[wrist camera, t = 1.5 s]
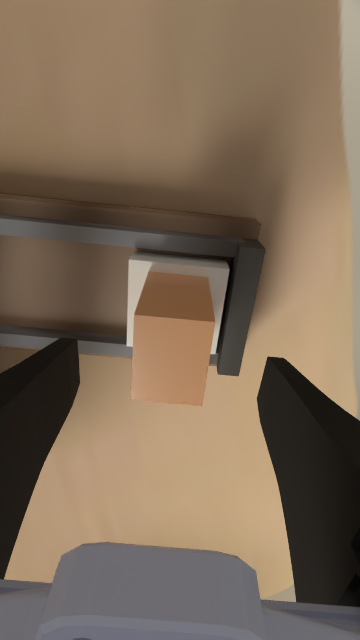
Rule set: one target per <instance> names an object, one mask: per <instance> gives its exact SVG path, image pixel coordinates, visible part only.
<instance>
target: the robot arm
mask: <svg viewBox="0 0 360 640" xmlns="http://www.w3.org/2000/svg"><path fill="white" fill-rule="evenodd" d="M79 384H80V375H79V356H78V339H73V338H62V337H61V338H59V339H58V340H56V341H54V342H53V343H51V344H49V345H48V346H46V347H45V348H43V349H42V350H40V351H38V352H37V353H35V354H34V355H32V356H30V357H29V358H27V359H25V360H24V361H22V362H20V363H19V364H17V365H15V366H13V367H11V368H10V369H8V370H6V371H4V372H3V373H1V374H0V640H360V421H359V420H358V419H356V418H355V417H353V416H352V415H350V414H349V413H348V412H346V411H345V410H344V409H342V408H341V407H340V406H339V405H337V404H336V403H335V402H333V401H332V400H331V399H330V398H328V397H327V396H326V395H325V394H324V393H322V392H321V391H320V390H319V389H318V388H317V387H316V386H314V385H313V384H312V383H311V382H310V381H309V380H308V379H307V378H306V377H304V376H303V375H302V374H301V373H300V372H299V371H298V370H297V369H296V368H295V367H294V366H292V365H291V364H290V363H289V362H288V361H287V360H285V359H284V358H278V357H267V361H266V365H265V369H264V373H263V377H262V381H261V385H260V389H259V393H258V397H257V403H258V411H259V417H260V423H261V426H262V430H263V434H264V437H265V440H266V444H267V447H268V451H269V454H270V457H271V461H272V464H273V468H274V471H275V474H276V478H277V482H278V486H279V491H280V496H281V502H282V507H283V512H284V518H285V524H286V531H287V537H288V543H289V550H290V557H291V564H292V571H293V578H294V586H295V595H296V602H285V601H271V600H260V594H259V588H258V582H257V575H256V571H255V570H254V569H253V568H251V567H250V566H249V565H248V564H246V563H245V562H244V561H243V560H241V559H240V558H239V557H237V556H234V555H230V554H226V553H222V552H218V551H209V550H197V549H185V548H172V547H160V546H148V545H135V544H123V543H110V542H101V543H88V544H82V545H80V546H78V547H76V548H75V549H73V550H71V551H69V552H67V553H65V554H64V555H62V556H61V559H60V562H59V564H58V567H57V570H56V573H55V576H54V579H53V582H52V583H42V582H29V581H16V580H4V577H5V573H6V570H7V567H8V564H9V560H10V557H11V554H12V551H13V548H14V545H15V542H16V539H17V536H18V533H19V530H20V527H21V524H22V521H23V518H24V515H25V513H26V510H27V507H28V504H29V501H30V498H31V496H32V493H33V490H34V488H35V485H36V482H37V480H38V477H39V474H40V472H41V469H42V467H43V464H44V462H45V460H46V458H47V456H48V454H49V452H50V450H51V448H52V446H53V444H54V442H55V440H56V438H57V436H58V434H59V432H60V430H61V428H62V426H63V424H64V422H65V420H66V418H67V416H68V414H69V412H70V409H71V407H72V405H73V402H74V399H75V397H76V394H77V390H78V387H79Z"/></svg>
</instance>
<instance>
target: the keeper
mask: <svg viewBox="0 0 360 640" xmlns="http://www.w3.org/2000/svg"><path fill="white" fill-rule="evenodd" d="M229 270H230V269H229V266H228V264H227V261H226V260H216V259H206V258H195V257H185V256H175V255H165V254H154V253H144V252H134V251H133V253H132V255H131V256H130V258H129V269H128V309H127V346H129V347H133V358H132V386H131V400H135V401H147V402H158V403H170V404H181V405H193V406H202V404H203V398H204V391H205V385H206V379H207V372H208V366H209V360H210V354H216V348H217V342H218V336H219V330H220V324H221V318H222V312H223V306H224V300H225V294H226V288H227V282H228V276H229Z"/></svg>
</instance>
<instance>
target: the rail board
mask: <svg viewBox="0 0 360 640" xmlns="http://www.w3.org/2000/svg"><path fill="white" fill-rule="evenodd" d="M260 225H261V224H260V223H259V222H258V221H257V220H256V219H250V218H240V217H230V216H220V215H210V214H200V213H190V212H180V211H170V210H161V209H151V208H141V207H131V206H121V205H111V204H101V203H91V202H81V201H71V200H61V199H51V198H41V197H31V196H21V195H11V194H1V193H0V347H10V348H21V349H32V350H42V349H43V348H45V347H46V346H48V345H49V344H51V343H53V342H54V341H56V340H58V339H59V338H61V337H62V338H73V339H78V354H87V355H98V356H109V357H120V358H131V359H132V358H133V347H129V346H127V309H128V269H129V258H130V256H131V255H132V253H133V251H134V252H144V253H154V254H165V255H175V256H185V257H195V258H206V259H216V260H226V261H227V264H228V266H229V269H230V270H229V276H228V282H227V288H226V294H225V300H224V306H223V312H222V318H221V324H220V330H219V336H218V342H217V348H216V354H210V360H209V366H217V372H218V374H220V375H231V376H239V372H240V367H241V363H242V358H243V353H244V348H245V344H246V339H247V334H248V329H249V325H250V320H251V315H252V310H253V306H254V301H255V296H256V291H257V287H258V282H259V277H260V273H261V268H262V263H263V258H264V254H265V248H264V247H263V246H262V245H261V243H260V242H259V241H258V235H259V230H260Z"/></svg>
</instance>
